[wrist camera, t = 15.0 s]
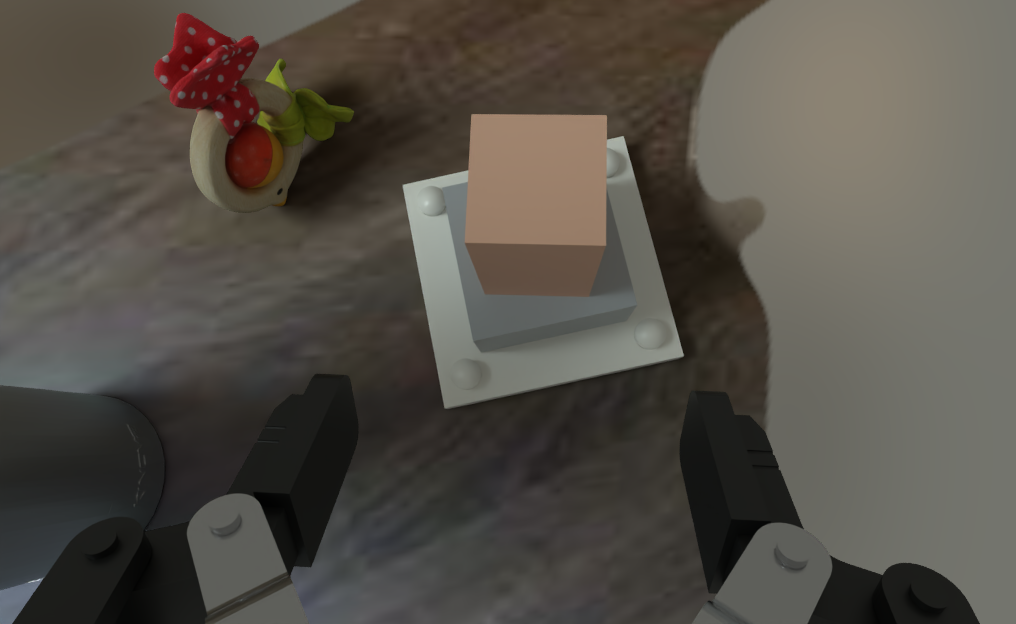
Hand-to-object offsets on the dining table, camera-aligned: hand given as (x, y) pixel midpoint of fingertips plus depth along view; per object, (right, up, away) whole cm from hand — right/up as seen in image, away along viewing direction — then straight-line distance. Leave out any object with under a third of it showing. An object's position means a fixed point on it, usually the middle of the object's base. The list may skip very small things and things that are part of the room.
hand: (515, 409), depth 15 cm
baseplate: (+1, +5, +21) cm, 21 cm away
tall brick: (+1, +6, +16) cm, 16 cm away
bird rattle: (-13, +11, +23) cm, 29 cm away
